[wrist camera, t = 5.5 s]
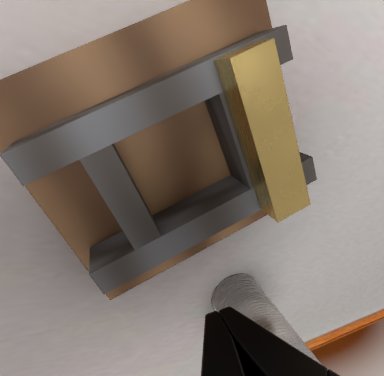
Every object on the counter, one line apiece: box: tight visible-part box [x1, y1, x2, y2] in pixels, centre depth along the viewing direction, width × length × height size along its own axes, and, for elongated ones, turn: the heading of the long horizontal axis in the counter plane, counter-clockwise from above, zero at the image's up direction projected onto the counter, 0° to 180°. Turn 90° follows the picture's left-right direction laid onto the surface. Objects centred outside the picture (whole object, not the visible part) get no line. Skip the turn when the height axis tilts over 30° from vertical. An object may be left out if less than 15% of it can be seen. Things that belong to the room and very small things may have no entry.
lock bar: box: [214, 38, 310, 222], centre depth 17 cm, size 2×10×2 cm, turn 23°
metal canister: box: [212, 274, 321, 364], centre depth 22 cm, size 5×5×12 cm
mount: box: [0, 0, 317, 300], centre depth 19 cm, size 18×16×4 cm
